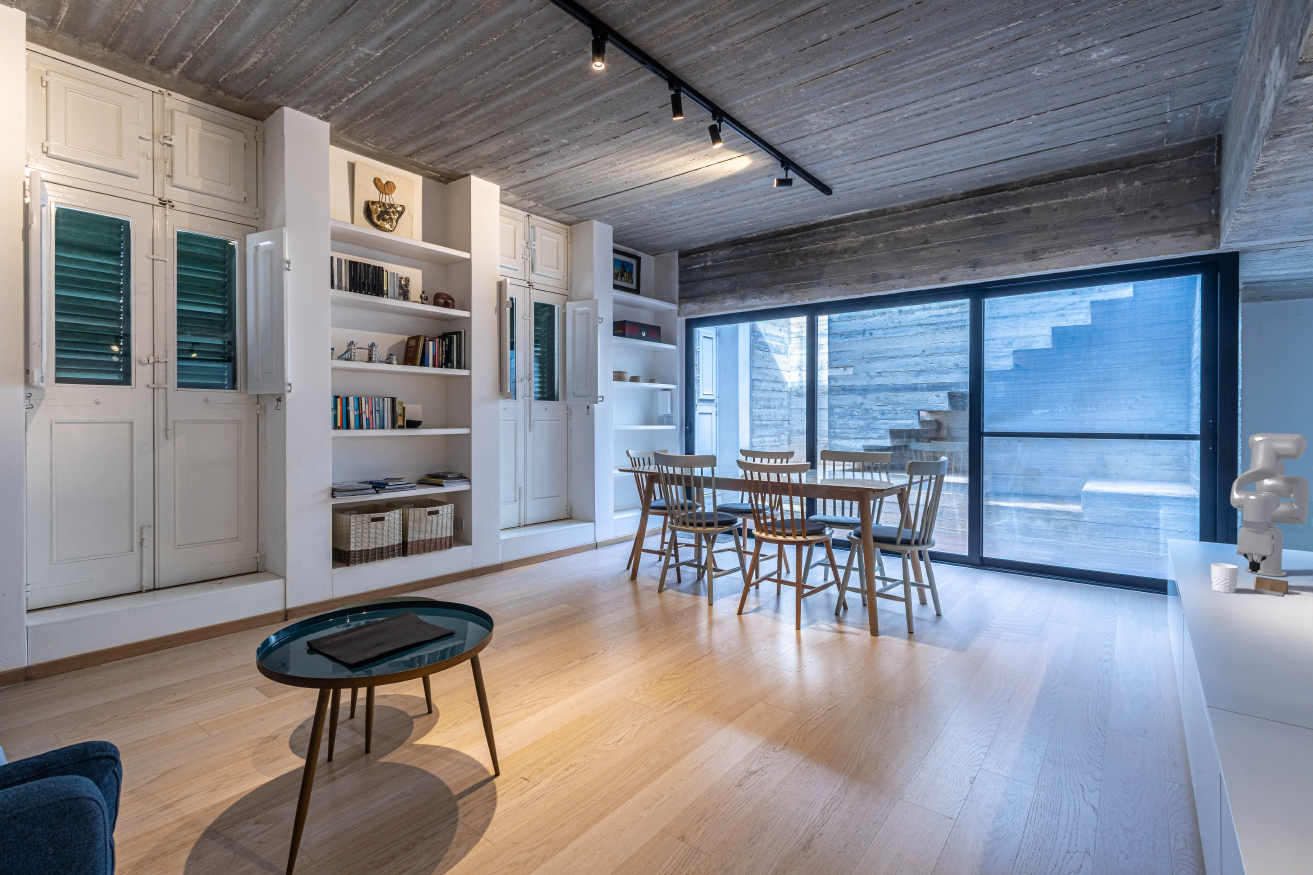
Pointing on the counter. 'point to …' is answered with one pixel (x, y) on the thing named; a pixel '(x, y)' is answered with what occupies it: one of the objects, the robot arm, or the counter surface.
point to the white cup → (1224, 577)
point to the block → (1271, 584)
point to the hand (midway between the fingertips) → (1254, 571)
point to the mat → (1269, 592)
